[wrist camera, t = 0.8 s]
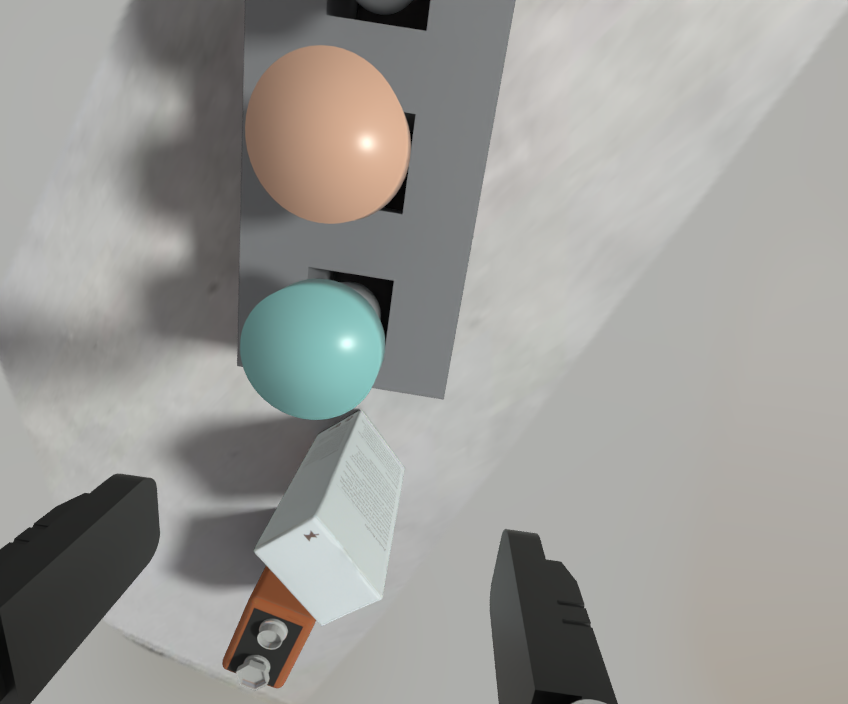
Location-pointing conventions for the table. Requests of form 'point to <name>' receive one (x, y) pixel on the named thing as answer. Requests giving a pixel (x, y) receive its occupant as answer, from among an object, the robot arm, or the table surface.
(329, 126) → the knob mid
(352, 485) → the skincare box
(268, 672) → the battery
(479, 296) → the table surface
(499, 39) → the mount
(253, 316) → the knob
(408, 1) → the knob
